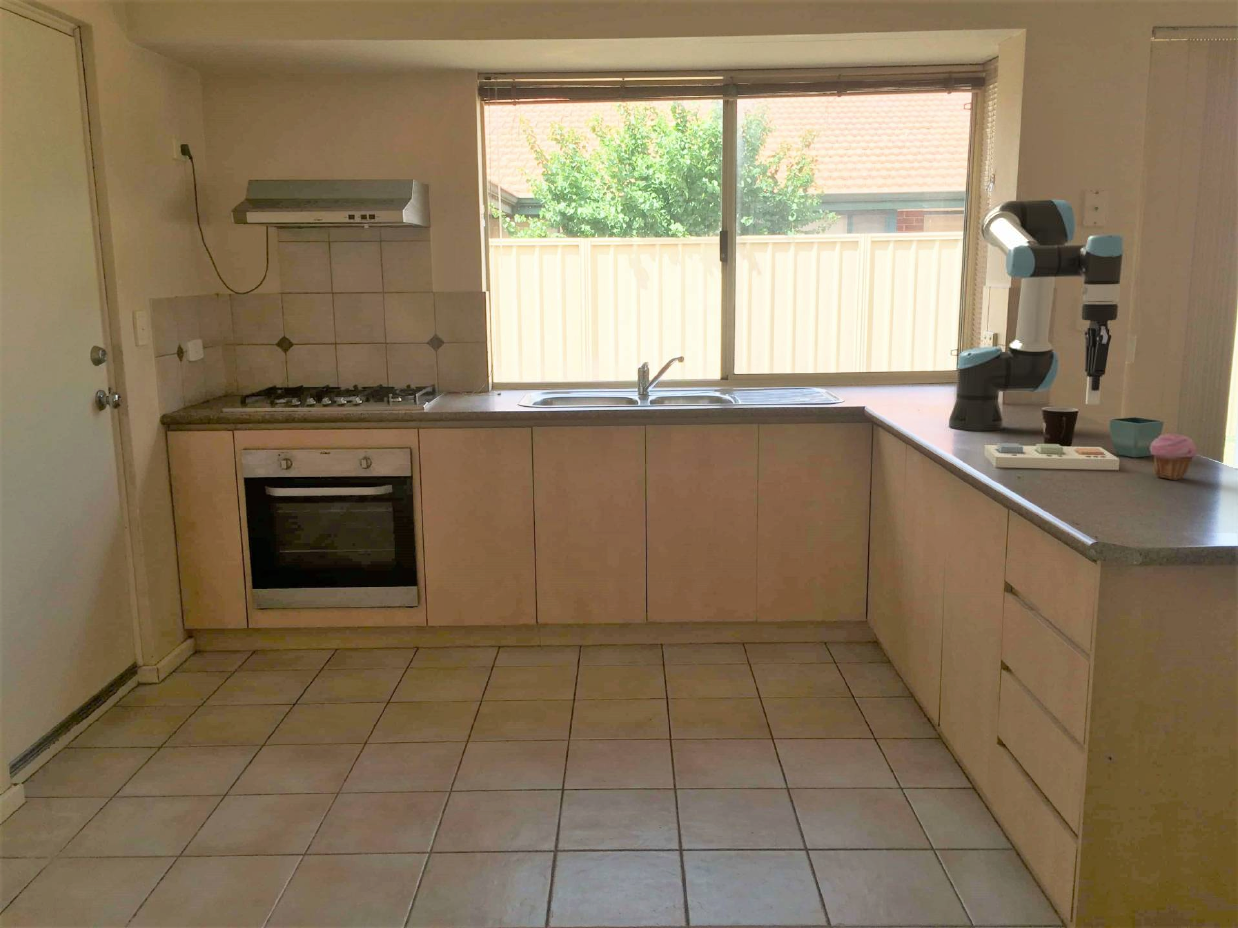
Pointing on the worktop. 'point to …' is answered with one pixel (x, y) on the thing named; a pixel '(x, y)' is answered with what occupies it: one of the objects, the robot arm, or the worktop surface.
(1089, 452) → the button
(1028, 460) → the panel
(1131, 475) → the worktop surface
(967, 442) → the worktop surface
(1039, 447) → the button
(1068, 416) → the coffee mug
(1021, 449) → the button
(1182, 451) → the cupcake
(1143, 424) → the flower pot
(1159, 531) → the worktop surface
